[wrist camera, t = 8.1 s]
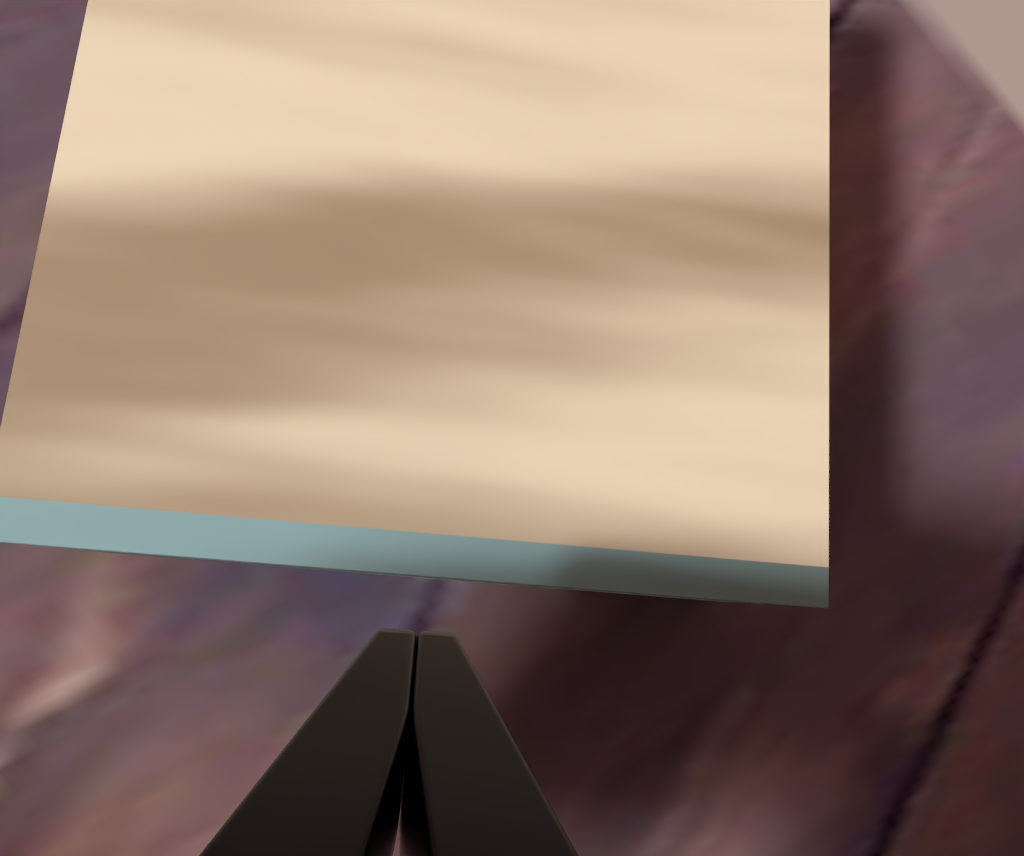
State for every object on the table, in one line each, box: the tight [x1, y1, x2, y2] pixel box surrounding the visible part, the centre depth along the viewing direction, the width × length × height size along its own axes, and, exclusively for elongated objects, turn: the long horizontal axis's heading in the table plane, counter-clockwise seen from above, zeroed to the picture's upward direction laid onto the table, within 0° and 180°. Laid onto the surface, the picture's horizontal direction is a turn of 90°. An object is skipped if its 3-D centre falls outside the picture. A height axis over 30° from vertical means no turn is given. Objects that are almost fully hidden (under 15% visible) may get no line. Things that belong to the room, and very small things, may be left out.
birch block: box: [0, 0, 830, 608], centre depth 15 cm, size 5×12×12 cm
